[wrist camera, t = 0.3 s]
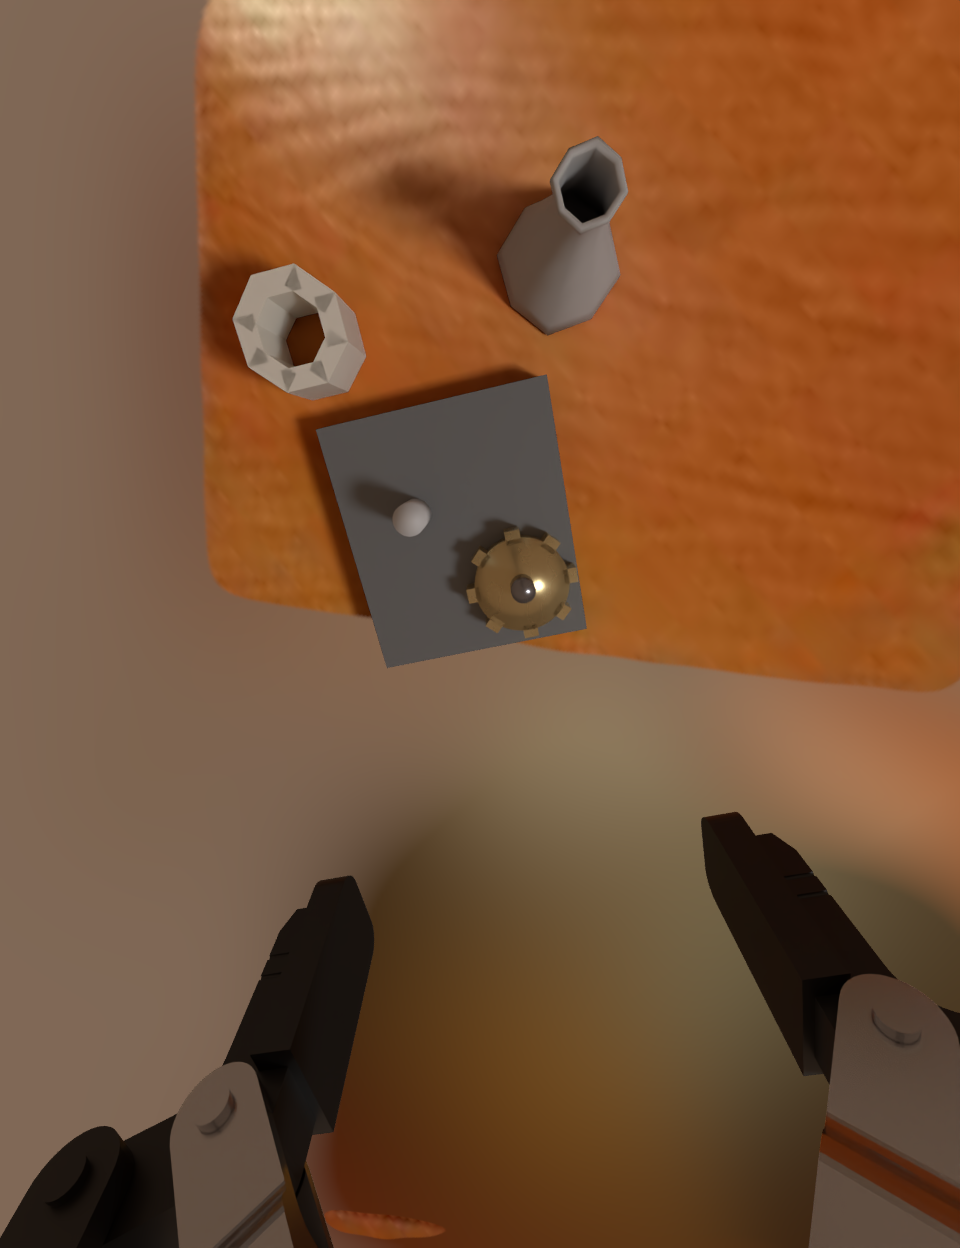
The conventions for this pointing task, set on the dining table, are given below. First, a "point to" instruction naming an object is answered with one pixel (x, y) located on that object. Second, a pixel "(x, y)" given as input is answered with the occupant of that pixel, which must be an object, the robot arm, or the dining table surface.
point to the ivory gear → (271, 318)
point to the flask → (567, 241)
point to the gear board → (447, 511)
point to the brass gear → (521, 582)
